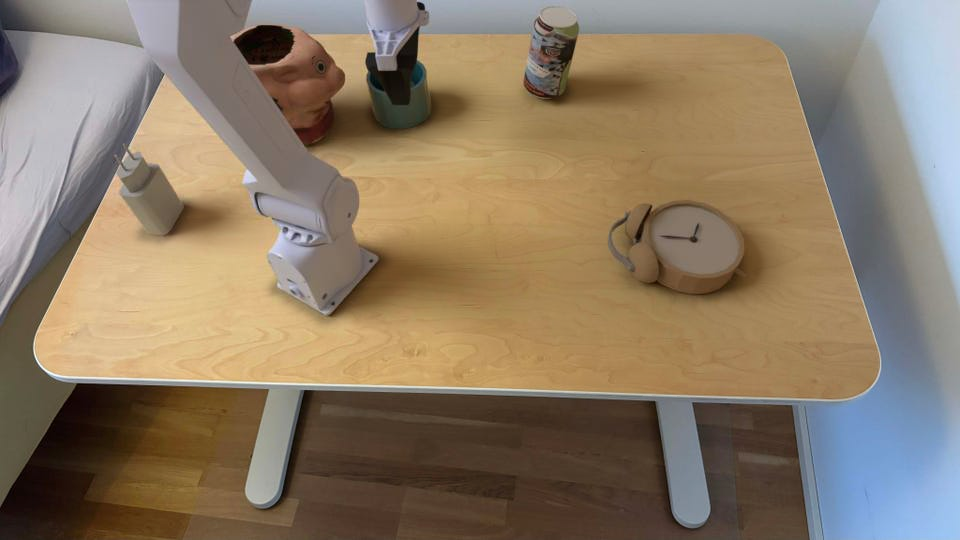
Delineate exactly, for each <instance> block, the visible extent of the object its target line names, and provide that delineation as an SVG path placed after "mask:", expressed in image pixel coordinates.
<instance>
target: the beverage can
mask: <svg viewBox="0 0 960 540" xmlns="http://www.w3.org/2000/svg"><path fill="white" fill-rule="evenodd" d="M579 33H580V26H579V23H578V16H577V15H576V13H574V12H573V10H571V9H569V8H566V7H562V6H557V5H555V6H551V5H550V6H547V7H544V8H543V9H541V11H540V12H539V14H538V15H537V16H536V18H535V19H534V22H533V27H532V33H531V38H530V44H529V48H528V55H527V60H526V66H525V71H524V77H523V86H524V88H525V90H526V91H527V92H528V93H530V94H531V95H533V96H534V97H535V98H539V99H543V100H550V99H554V98H558V97H560V96H561V95H562V94H564V92H565V91H566V86H567V83H568V79H569V75H570V71H571V66H572V61H573V57H574V53H575V49H576V45H577V41H578V37H579Z"/></svg>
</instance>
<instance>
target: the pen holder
mask: <svg viewBox="0 0 960 540" xmlns="http://www.w3.org/2000/svg"><path fill="white" fill-rule="evenodd" d="M411 81H413V82H414V84H415V86H414V87H412V88H411V97H410V103H409V105H392V103H391V101H390V100H389V98H388V96H387V94H386V92H384V88H383V86H382V85H381V83H380V82H379V81H378V79H377V78H376V77H375V76H374V75H373V74H371V73H370V72H369V71H368V70H367V73H366V77H365V82H366V86H367V91H368V95H369V99H370V103H371V108H372V111H373V115H374V118H375V120H376V121H377V122H378V123H379V124H380V125H382V126H383V127H385V128H389V129H393V130H404V129H411V128H413V127H416V126H418V125H420V124H422V123H423V122H425V120H426V119H428V117H429V116H430V114H431V112H432V102H431V101H432V100H431V94H430V86H429V78H428V72H427V69H426V67H425V65H424V64H423V63H422V62H421V61H420V60H418V59H417V62H416V65H415V67H414V70H413V72H412V74H411Z"/></svg>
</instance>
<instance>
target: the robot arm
mask: <svg viewBox="0 0 960 540" xmlns="http://www.w3.org/2000/svg"><path fill="white" fill-rule="evenodd" d="M125 2H126V4H127V7H128V10H129V13H130V16H131V17H132V20H133V23H134V26H135V29H136V32H137V34H138V37H139V40H140V42H141V44H142V47H143V49H144V51H145V52H146V54H147V55H148V57H149V58H150V59H151V61H152V62H153V63H154V64H155V65H156V66H157V67H158V68H159V70H160V71H161V73H163V74H164V75H165V76H166V78H167V79H168V80H169V81H170V83H171V84H172V85H174V87H175V88H176V89H177V90H178V91H179V93H180V94H181V95H182V97H184V99H186V101H187V102H188V103H189V104H190V106H192V108H193V109H194V110H195V111H196V112H197V114H199V116H200V117H201V118H202V119H203V120H204V121H205V122H206V124H207V125H208V126H209V127H210V128H211V129H212V130H213V132H214V133H215V134H216V135H217V136H218V137H219V139H221V141H222V142H223V143H224V145H225V146H226V147H227V148H228V149H229V150H230V151H231V153H233V155H234V156H235V157H236V158H237V159H238V161H240V163H242V165H243V166H244V167H245V169H246V170H245V172H244V175H243V178H242V181H241V185H242V186H243V187H244V188H245V189H246V190H247V192H248V194H249V197H250V201H251V205H252V208H253V209H254V212H255V213H256V214H258V215H259V216H261V217H264V218H271V221H272V223H273V225H274V227H277V228H278V229H280V230H279V233H278V236H277V239H276V241H275V242H274V244H273V246H271V248H269V251H268V252H267V254H266V259H267V262H268V264H269V266H270V268H271V270H272V272H273V273H274V274H273V275H274V276H275V278H276V279H277V284H276V285H277V288H278V289H279V290H281V291H283V292H285V293H286V294H288V295H289V296H292V297H293V298H295V299H297V300H299V301H300V302H302V303H304V304H305V305H307V306H309V307H310V308H312V309H314V310H316V311H317V312H319V313H321V314H323V315H325V316H329V315H331V314H332V313H333V312H334V311H335V310H336V309H337V308H338V307H339V305H340V304H341V303H342V302H343V301H344V300H345V299H346V298H347V297H348V296H349V295H350V293H351V292H352V291H353V290H354V289H355V288H356V286H357V285H358V284H360V282H361V281H362V280H363V279H364V278H365V276H366V275H368V273H370V271H371V270H372V268H373V267H374V266H376V264H377V263H378V262H379V259H380V258H379V256H378V255H377V254H375V253H373V252H371V251H369V250H367V249H365V248H364V247H361V246H359V244H358V241H357V238H356V235H355V231H354V229H353V224H354V222H355V221H356V218H357V215H358V213H359V208H360V192H359V190H358V189H359V188H358V186H357V183H356V182H355V181H354V180H353V179H352V178H350V177H345V176H343V175H342V174H341V173H340V171H339V170H338V168H336V167H334V166H333V165H331V164H330V163H328V162H326V161H324V160H323V159H321V158H319V157H318V156H316V155H314V154H313V153H311V152H310V151H309V150H308V149H307V148H306V145H303V143H302V142H301V140H300V139H299V137H298V136H297V134H296V133H295V132H294V130H293V129H292V127H291V126H290V124H289V123H288V121H287V120H286V118H285V117H284V115H283V114H282V112H281V111H280V110H279V108H278V107H277V105H276V104H275V102H274V101H273V99H272V98H271V96H270V95H269V93H268V92H267V91H266V89H265V88H264V86H263V85H262V83H261V82H260V80H259V79H258V77H257V76H256V74H255V73H254V71H253V70H252V69H251V67H250V66H249V64H248V63H247V61H246V60H245V58H244V57H243V55H242V54H241V52H240V51H239V49H238V48H237V47H236V45H235V44H234V42H233V41H232V36H235V35H236V34H238V33H239V32H241V31H242V30H244V29H245V26H246V22H247V18H248V16H249V12H250V9H251V5H252V2H253V0H125ZM363 3H364V8H365V12H366V18H365V19H366V25H367V29H368V32H369V35H370V37H371V41H372V43H373V46H374V48H375V51H373V52H371V51H369V52H367V51H366V57H365V60H364V63H365V66H366V67H365V68H366V69H367V72H368V71H369V72H370V73H371V74H373V75H374V76H375V77H376V78H377V79H378V81H379V82H380V83H381V85H382V86H383V88H384V90H385V92H386V94H387V96H388V98H389V100H390V101H391V103H392V105H409V103H410V97H411V74H412V72H413V70H414V67H415V65H416V62H417V60H418V55H419V35H420V28H421V27H425V26H428V25H429V23H430V18H431V17H430V12H429V11H428V10H426V6H425V5H426V4H425V3H423V2H421V1H417V0H363Z"/></svg>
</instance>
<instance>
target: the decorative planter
mask: <svg viewBox="0 0 960 540" xmlns="http://www.w3.org/2000/svg"><path fill="white" fill-rule="evenodd" d="M231 39H232V41H233V42H234V44H235V45H236V47H237V48H238V49H239V51H240V52H241V54H242V55H243V57H244V58H245V60H246V61H247V63H248V64H249V66H250V67H251V69H252V70H253V71H254V73H255V74H256V76H257V77H258V79H259V80H260V82H261V83H262V85H263V86H264V88H265V89H266V91H267V92H268V93H269V95H270V96H271V98H272V99H273V101H274V102H275V104H276V105H277V107H278V108H279V110H280V111H281V112H282V114H283V115H284V117H285V118H286V120H287V121H288V123H289V124H290V126H291V127H292V129H293V130H294V132H295V133H296V134H297V136H298V137H299V139H300V140H301V142H302V143H303V145H304V146H307V145H310V144H313V143H317V142H318V141H320V140H321V139H323V137H325V136H326V135H327V134H328V133H329V132H330V130H331V129H332V127H333V125H334V119H335V112H334V107H333V103H332V101H331V99H332V98H333V97H334V96H335V95H336V94H337V93H338V92H340V91H341V89H342V88H343V87H344V86H345V83H346V73H345V72H344V70H343V69H342V68H340V67H339V66H337V64H336V62H335V60H334V58H333V56H331V54H329V53H328V52H327V50H326V49H325V47H324V45H322V43H320V42H319V41H318V40H316V39H314V38H313V37H312V36H311V35H310V34H308V32H306V31H305V30H303V29H302V28H299V27H293V26H289V25H284V24H279V23H259V24H254V25H251V26H248V27H245V28H244V29H243V30H242V31H240V32H238V33H236V34H234V35H233V37H231Z"/></svg>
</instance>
